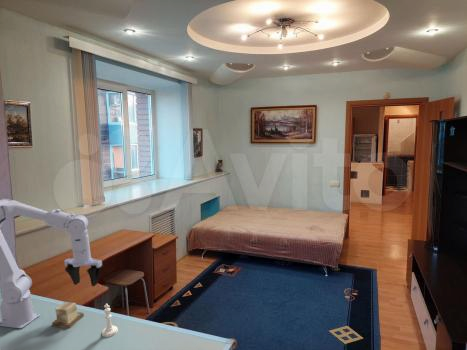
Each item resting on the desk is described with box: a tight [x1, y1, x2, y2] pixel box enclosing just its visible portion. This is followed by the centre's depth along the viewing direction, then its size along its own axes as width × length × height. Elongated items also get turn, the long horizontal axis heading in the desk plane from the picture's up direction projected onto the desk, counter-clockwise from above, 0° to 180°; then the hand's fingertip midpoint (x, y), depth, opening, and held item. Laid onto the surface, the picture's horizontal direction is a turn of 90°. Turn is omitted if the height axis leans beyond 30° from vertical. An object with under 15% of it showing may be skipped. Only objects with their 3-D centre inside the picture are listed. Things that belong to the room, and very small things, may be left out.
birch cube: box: [55, 301, 78, 322], centre depth 111 cm, size 4×4×4 cm
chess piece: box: [101, 303, 119, 338], centre depth 103 cm, size 5×5×10 cm
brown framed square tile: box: [51, 311, 85, 329], centre depth 112 cm, size 7×7×1 cm
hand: (85, 284), depth 116 cm, fingers open, 7 cm apart
